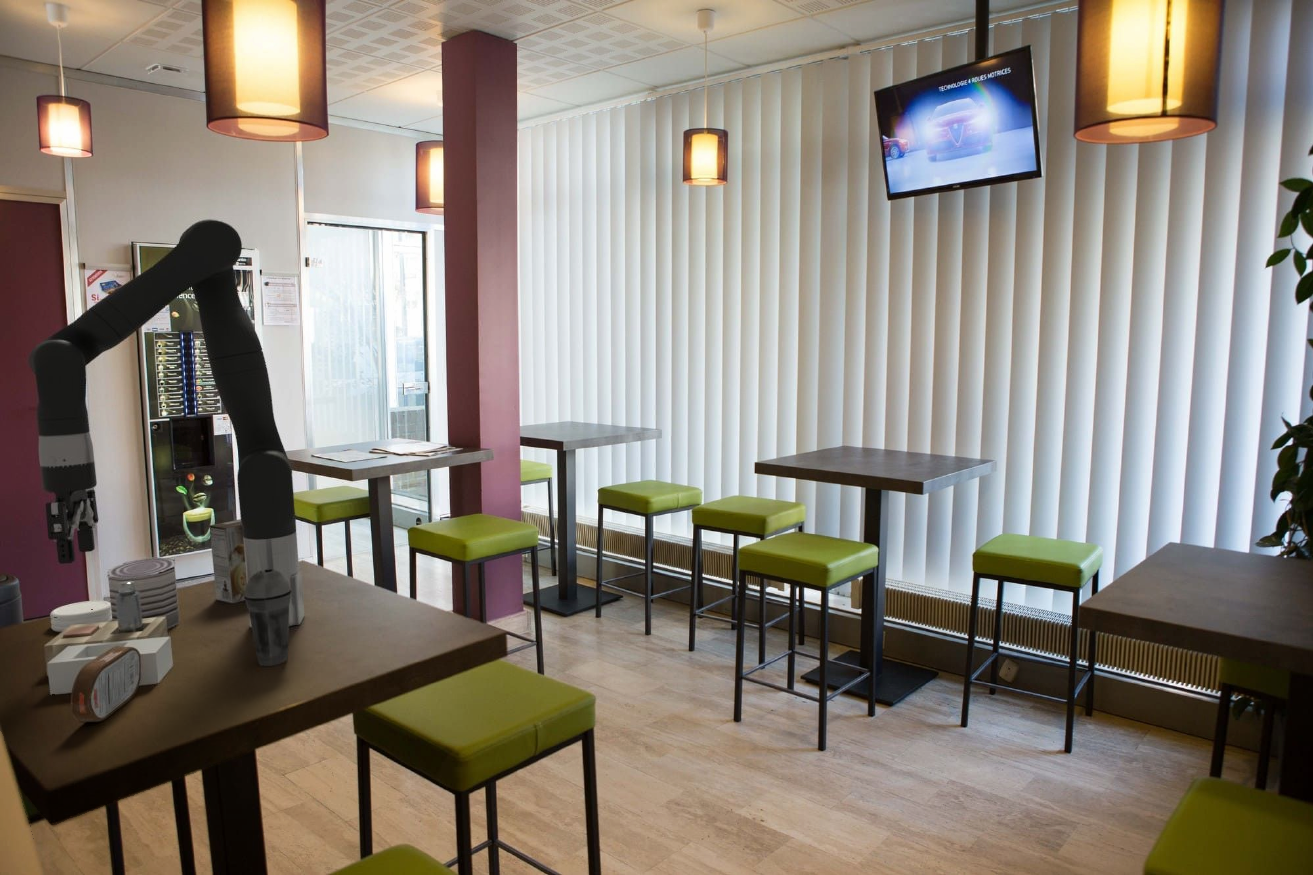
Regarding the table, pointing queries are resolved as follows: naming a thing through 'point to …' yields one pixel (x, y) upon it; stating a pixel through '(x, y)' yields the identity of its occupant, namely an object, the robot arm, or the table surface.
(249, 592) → the beverage cup
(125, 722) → the table surface
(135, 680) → the tin
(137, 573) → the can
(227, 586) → the coffee box
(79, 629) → the key
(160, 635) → the socket block
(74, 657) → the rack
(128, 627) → the stepped metal cylinder
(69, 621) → the white round container
